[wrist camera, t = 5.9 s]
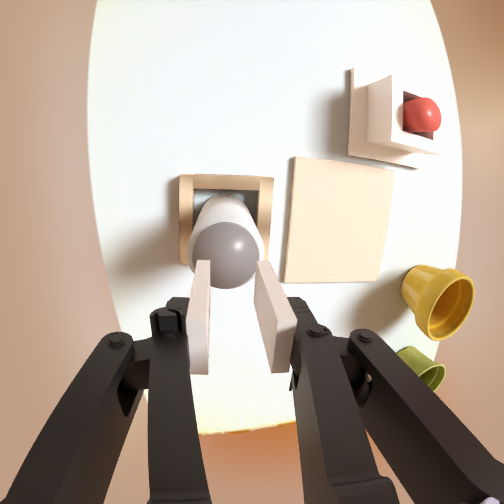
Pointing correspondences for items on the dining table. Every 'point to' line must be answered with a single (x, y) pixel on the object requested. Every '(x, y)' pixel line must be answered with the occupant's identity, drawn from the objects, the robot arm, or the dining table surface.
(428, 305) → the plant pot
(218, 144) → the dining table surface
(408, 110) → the latch button
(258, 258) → the filter cartridge
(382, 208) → the sand mat
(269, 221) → the socket
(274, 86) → the dining table surface
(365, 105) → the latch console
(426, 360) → the plant pot
